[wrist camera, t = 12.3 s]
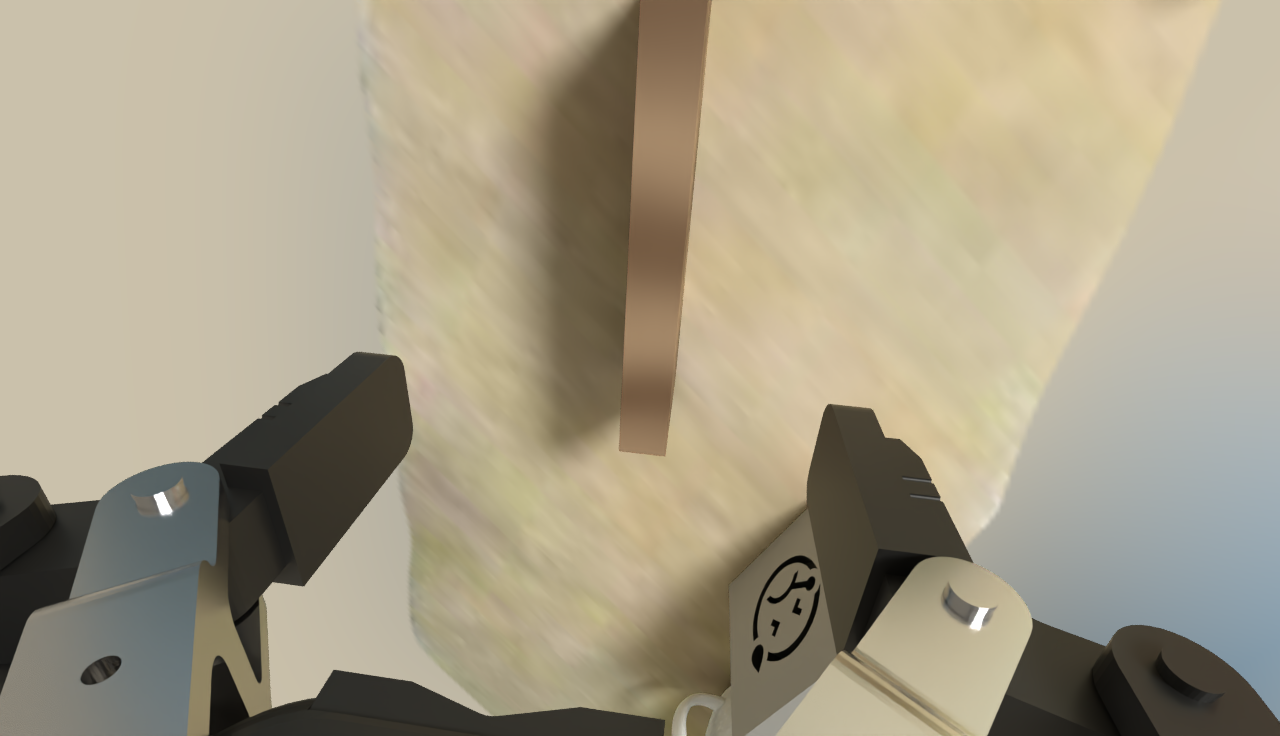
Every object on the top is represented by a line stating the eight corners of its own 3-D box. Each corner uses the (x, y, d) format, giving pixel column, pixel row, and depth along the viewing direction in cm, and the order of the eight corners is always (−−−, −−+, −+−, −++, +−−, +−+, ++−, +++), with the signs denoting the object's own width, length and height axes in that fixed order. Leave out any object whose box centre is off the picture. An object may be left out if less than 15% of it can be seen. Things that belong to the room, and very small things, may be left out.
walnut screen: (663, -30, 23) (643, -61, 17) (714, -27, 23) (713, -57, 17) (638, 373, 31) (618, 451, 25) (675, 377, 31) (665, 456, 25)
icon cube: (853, 651, 39) (891, 821, 31) (728, 585, 38) (732, 745, 29) (966, 564, 35) (1050, 736, 26) (830, 485, 33) (871, 639, 24)
